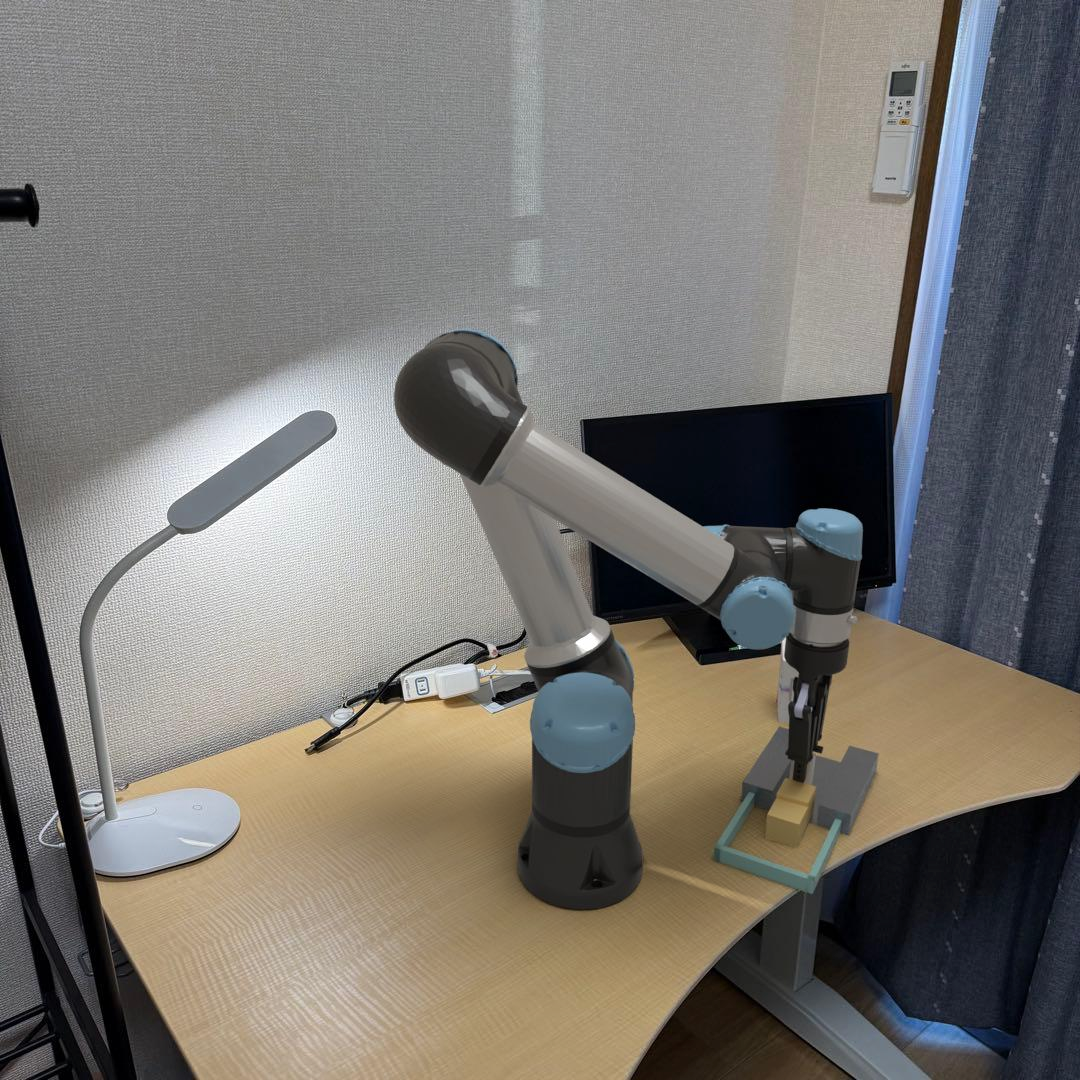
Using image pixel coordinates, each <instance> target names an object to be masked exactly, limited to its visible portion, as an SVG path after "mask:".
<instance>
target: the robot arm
mask: <svg viewBox="0 0 1080 1080" xmlns="http://www.w3.org/2000/svg"><path fill="white" fill-rule="evenodd" d="M518 378H519V375H518V373H517V366H516V363H515V360H514V358H513V356H512V355H511V353H510V352H509V350H508V349H507V348H506V346H505V345H504V344H503V343H502V342H501V341H500V340H498V339H497V338H496V337H495V336H493V335H491V334H489V333H486V332H484V331H482V330H478V329H477V330H476V329H470V328H469V329H467V328H465V329H462V328H461V329H454V330H453V331H449V332H444V333H442V334H440V335H439V336H436V337H434V338H432V339H431V340H430V341H429V342H428V343H427V344H426V345H425V346H424V347H423V348H422V349H420V350H418V351H417V352H416V353H414V354H413V355H412V356H411V357H410V358H409V359H408V360H406V362H405V364H404V365H403V366H402V368H401V369H400V371H399V373H398V376H397V378H396V382H395V384H394V391H393V400H394V401H393V402H394V403H393V404H394V409H395V414H396V417H397V419H398V422H399V424H400V425H401V427H402V429H403V430H404V432H405V433H406V435H407V436H408V437H409V439H411V440H412V441H413V443H415V444H416V445H417V446H418V447H420V448H421V449H422V450H423V451H424V452H425V453H427V454H429V455H430V456H432V457H433V458H434V459H436V460H438V461H439V462H440V463H441V464H442V465H443V466H446V467H448V468H450V469H451V470H453V471H455V472H457V473H458V474H459V476H460V478H461V480H462V483H463V485H464V487H465V489H466V492H467V494H468V497H469V500H470V502H471V504H472V506H473V508H474V510H475V511H474V512H475V513H476V516H477V519H478V521H479V522H480V525H481V528H482V530H483V532H484V535H485V537H486V539H487V541H488V544H489V546H490V548H491V551H492V553H493V556H494V558H495V561H496V564H497V565H498V568H499V570H500V572H501V576H502V577H503V580H504V582H505V585H506V588H507V589H508V591H509V594H510V597H511V599H512V601H513V604H514V605H515V608H516V610H517V614H518V615H519V618H520V621H521V623H522V625H523V627H524V629H525V631H526V635H527V637H528V639H529V643H528V645H527V647H526V649H525V652H524V656H523V657H524V661H525V663H526V665H527V667H528V671H529V672H530V675H531V677H532V679H533V682H534V684H535V687H536V689H537V693H536V695H535V697H534V700H533V703H532V710H531V712H530V713H531V714H530V720H529V730H530V734H531V811H530V814H529V817H528V819H527V822H526V825H525V827H524V830H523V832H522V835H521V838H520V841H519V843H518V845H517V846H518V847H517V873H518V877H519V878H520V881H521V882H522V884H523V886H524V887H525V888H526V889H527V890H528V891H529V892H530V893H531V894H532V895H534V896H535V897H537V898H538V899H540V900H542V901H544V902H546V903H548V904H550V905H553V906H557V907H560V908H563V909H564V908H565V909H572V910H592V909H599V908H603V907H608V906H611V905H613V904H616V903H619V902H620V901H622V900H623V899H625V898H627V897H628V896H629V895H630V894H632V893H633V892H634V891H635V890H636V888H637V887H638V885H639V883H640V881H641V878H642V875H643V864H644V863H643V860H644V859H643V857H644V856H643V855H644V854H643V848H642V844H641V842H640V841H639V840H640V839H639V836H638V834H637V831H636V827H635V825H634V822H633V821H634V820H633V819H632V816H631V800H632V799H631V796H632V793H631V792H632V772H633V771H632V767H633V750H634V749H633V748H634V747H633V744H634V742H633V741H634V737H635V732H636V731H635V730H636V717H635V716H636V715H635V713H634V706H633V704H634V701H633V697H634V694H633V693H634V690H635V689H634V688H635V681H634V679H635V673H634V669H633V665H632V663H631V662H632V661H631V660H630V657H629V655H628V653H627V651H626V649H625V648H624V646H623V645H622V644H621V643H620V642H619V641H618V640H617V639H616V638H615V635H614V633H613V631H612V628H611V625H610V623H609V622H608V621H607V620H605V619H604V618H601V617H598V616H597V615H593V612H592V609H591V607H590V605H589V602H588V599H587V597H586V594H585V592H584V588H583V587H582V585H581V582H580V579H579V577H578V575H577V572H576V570H575V566H574V564H573V561H572V559H571V556H570V554H569V552H568V549H567V546H566V544H565V542H564V539H563V536H562V534H561V531H560V529H559V526H558V524H557V522H558V523H560V524H562V525H563V526H565V527H567V528H568V529H570V530H572V531H573V532H575V533H577V535H580V536H581V537H583V538H585V539H586V540H587V541H588V540H589V541H590V542H591V543H594V545H596V546H598V547H600V548H601V549H603V550H605V551H606V552H608V553H609V554H611V555H612V556H615V557H616V558H618V559H619V560H621V561H623V562H624V563H626V564H628V565H630V566H631V567H633V568H634V569H636V570H637V571H639V572H641V573H642V574H645V575H646V576H647V577H649V578H651V579H652V580H654V581H656V582H657V583H659V584H661V585H663V586H664V587H666V588H667V589H668V590H670V591H673V592H674V593H676V594H677V595H679V596H681V597H683V598H684V599H685V600H688V601H689V602H691V603H693V604H694V605H695V606H697V607H698V608H701V609H702V610H703V611H705V612H707V613H708V614H710V615H711V616H713V617H714V618H717V620H719V621H720V622H721V623H720V624H721V626H722V628H723V630H724V631H725V632H726V633H727V635H728V636H729V637H730V639H731V640H732V641H733V642H734V643H736V644H737V645H739V646H741V647H743V648H745V649H749V650H766V649H769V648H772V647H775V646H777V645H778V644H780V643H782V641H783V640H784V639H785V637H786V642H785V652H784V658H785V660H786V662H787V663H788V664H789V665H790V666H791V667H793V668H794V669H796V670H797V671H798V673H799V675H798V677H795V678H794V681H793V691H794V698H793V702H790V703H789V705H788V712H789V723H788V729H789V739H788V749H787V751H786V752H785V755H787V756H788V759H790V760H791V768H790V777H789V779H791V780H794V781H798V782H801V783H805V784H808V785H812V783H813V775H814V766H815V758H816V755H817V754H815V753H818V754H823V751H824V746H821V745H818V744H819V742H820V741H821V740H822V739H823V730H824V729H823V728H824V723H825V716H826V711H827V706H828V705H827V704H828V700H829V699H828V698H829V693H830V688H831V685H832V683H833V682H832V681H833V675H836V674H838V673H841V672H842V671H844V669H846V667H847V665H848V657H849V656H848V655H849V649H850V639H849V637H850V635H851V630H852V625H855V624H858V620H859V619H858V616H856V615H853V612H854V606H855V600H856V593H857V592H856V591H857V584H858V580H859V579H858V578H859V572H860V566H861V560H863V554H862V553H863V552H862V551H863V549H862V548H863V534H864V533H863V532H864V529H863V528H864V527H863V523H862V522H861V521H860V520H859V518H858V517H856V516H855V515H854V514H852V513H850V512H847V511H844V510H839V509H834V508H824V507H823V508H817V509H807V510H805V511H803V512H802V513H801V514H800V515H799V516H798V521H797V523H796V524H795V527H786V528H784V527H763V526H760V527H759V526H743V525H742V526H739V525H738V526H737V525H729V524H723V525H706V526H705V525H704V526H702V525H701V524H699V523H698V522H696V521H694V520H693V519H692V518H689V517H688V516H686V515H684V514H683V513H681V512H680V511H678V510H676V509H675V508H673V507H671V506H670V505H669V504H667V503H665V502H663V500H660V499H659V498H657V497H655V496H654V495H652V494H651V493H649V492H648V491H646V490H645V489H642V488H641V487H639V486H637V484H635V483H634V482H631V481H629V480H628V479H626V477H623V476H622V475H620V474H618V473H617V472H616V471H614V470H612V469H611V468H609V467H607V466H605V465H604V464H602V463H601V462H599V461H597V460H595V459H594V458H593V457H591V456H589V455H588V454H586V453H585V452H583V451H581V450H580V449H578V448H576V447H575V446H573V445H571V444H570V443H568V442H566V440H564V439H562V438H560V437H559V436H557V435H556V434H553V433H552V432H551V431H550V430H547V429H546V428H544V427H543V426H541V425H539V424H538V423H536V422H535V420H534V418H533V414H532V410H531V408H530V407H528V406H527V405H526V404H524V402H523V399H522V397H521V395H520V391H519V389H518V384H519V382H518V381H519V379H518Z"/></svg>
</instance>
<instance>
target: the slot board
mask: <svg viewBox="0 0 1080 1080" xmlns="http://www.w3.org/2000/svg"><path fill="white" fill-rule="evenodd" d="M788 739H789V728H786V727H782V726H778V727H777V729H776V731H775V732H774V733H773V735H772V737H771V738H770V739H769V741H768V742H767V744H766V746H765V747H764V749H763V751H762V752H761V753H760V755H759V757H758V758H757V759H756V760H755V763H754V764H753V765H752V767H751V769H750V770H749V772H748V773H747V774H746V776H745V777H744V779H743V781H742V786H741V795H740V802H741V803H743V801H744V799H745V798H746V796H747V795H748V793H749V792H751V793H754V794H755V802H754V807H756V808H760V809H763V810H766V811H769V810H770V809H771V807H772V805H773V803H774V801H775V800H776V795H777V792H778V790H779V789H780V787H781V785H782V783H783V781H784V780H785V778H788V779H789V777H790V768H791V760H790V759H788V756H787V755H785V752H786V751H787V749H788ZM879 755H880V754H879V753H878V752H874V751H871V750H868V749H864V748H859V747H856V746H853V745H848V747H847V750H846V752H845V753H844V755H843V757H842V759H841V761H838V760H835V759H830V758H827V757H824V756H820V755H817V754H816V758H815V766H814V775H813V783H812V786H815V787H816V793H815V802H814V810H813V814H812V816H811V818H810V821H809V823H808V824H810V825H811V824H812V825H814V826H817V827H820V828H824V829H828V830H830V829H831V827H832V825H833V823H834V820H835V818H836V819H839V820H842V823H841V831H840V834H843V835H846V836H849V835H850V833H851V831H852V828H853V826H854V824H855V821H856V819H857V816H858V815H859V812H860V810H861V807H862V805H863V803H864V801H865V798H866V796H867V795H868V792H869V789H870V788H871V784H872V783H873V780H874V778H875V775H876V773H877V769H878V763H879V762H878V761H879Z"/></svg>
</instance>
